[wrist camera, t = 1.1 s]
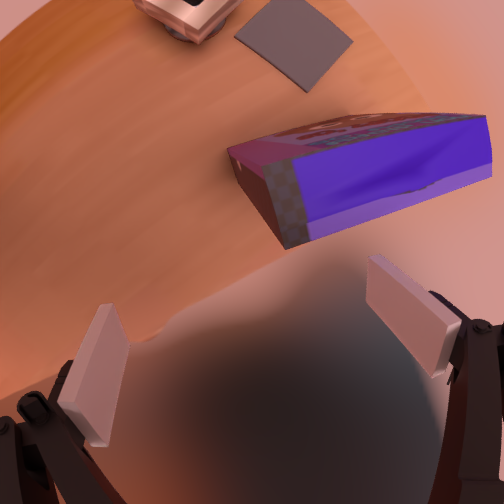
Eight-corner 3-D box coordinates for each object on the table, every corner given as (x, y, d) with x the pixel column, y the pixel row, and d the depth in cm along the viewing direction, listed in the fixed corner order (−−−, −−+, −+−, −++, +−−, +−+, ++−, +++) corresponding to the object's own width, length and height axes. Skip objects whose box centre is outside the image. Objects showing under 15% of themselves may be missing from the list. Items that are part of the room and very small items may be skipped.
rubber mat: (234, 37, 31) (234, 35, 31) (285, -12, 29) (286, -13, 29) (306, 93, 36) (308, 92, 35) (351, 42, 33) (353, 41, 33)
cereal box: (350, 115, 37) (487, 115, 15) (358, 148, 39) (493, 177, 17) (226, 148, 37) (261, 166, 15) (238, 183, 39) (286, 251, 17)
